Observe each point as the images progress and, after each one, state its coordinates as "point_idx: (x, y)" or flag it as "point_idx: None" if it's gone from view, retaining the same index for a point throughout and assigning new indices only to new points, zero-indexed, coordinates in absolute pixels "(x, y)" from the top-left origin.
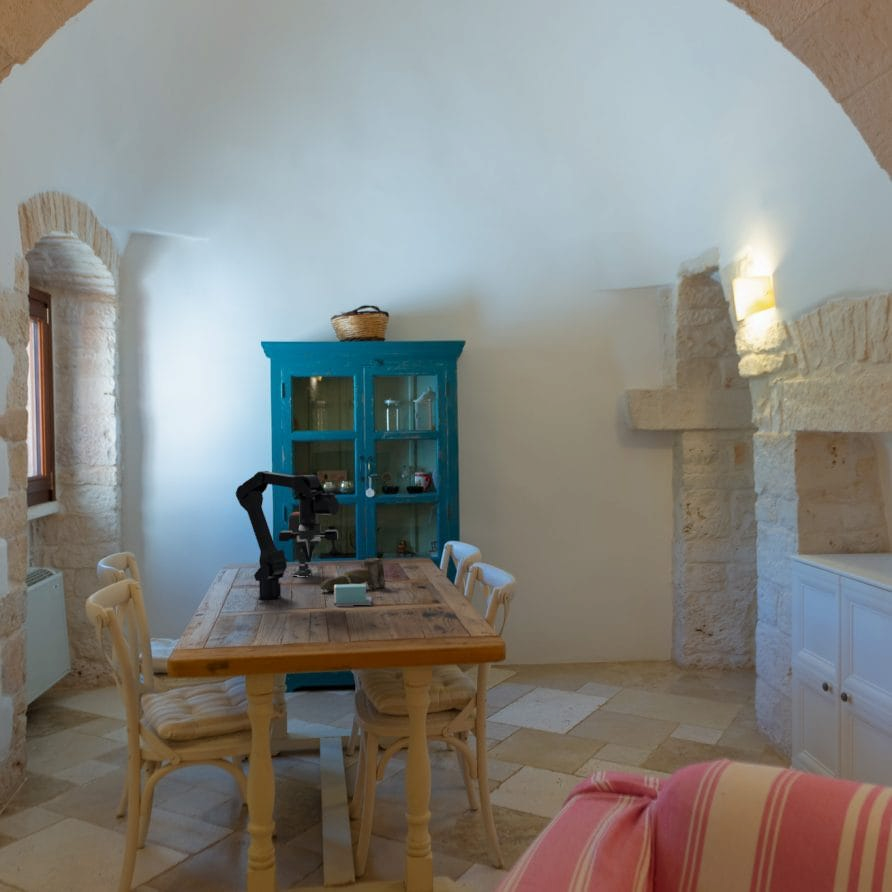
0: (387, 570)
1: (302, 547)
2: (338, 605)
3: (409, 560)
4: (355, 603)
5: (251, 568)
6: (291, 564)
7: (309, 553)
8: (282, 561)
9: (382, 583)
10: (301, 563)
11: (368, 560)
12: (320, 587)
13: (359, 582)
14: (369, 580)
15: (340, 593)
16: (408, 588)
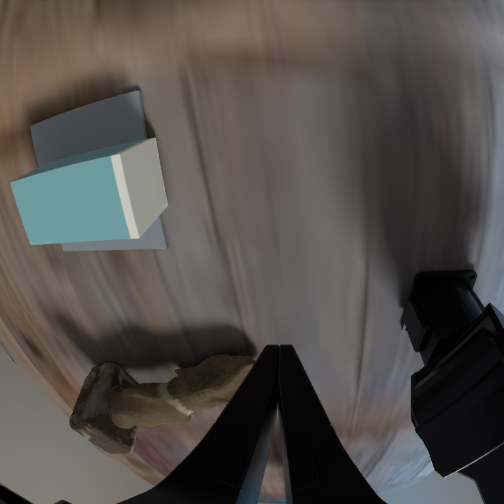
0: (168, 465)
1: (364, 485)
2: (129, 93)
3: None
4: (75, 135)
5: (397, 481)
6: None
7: (261, 414)
8: (447, 411)
9: (92, 372)
10: None
11: (107, 440)
12: None
13: (143, 383)
14: (122, 390)
15: (107, 152)
16: (47, 345)
